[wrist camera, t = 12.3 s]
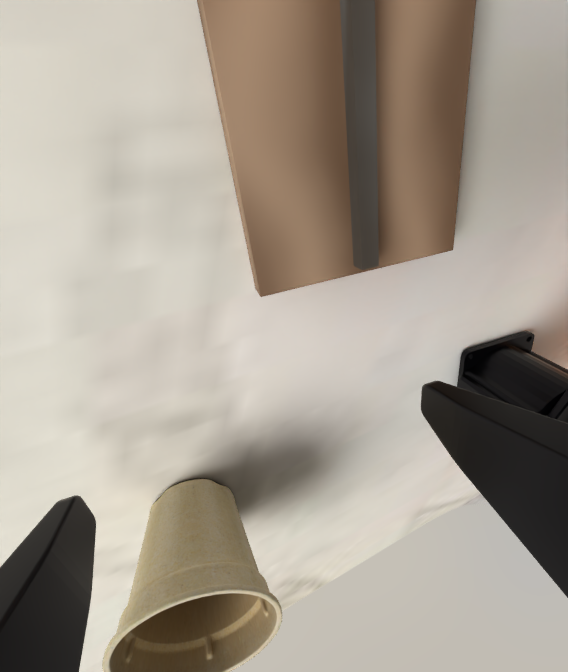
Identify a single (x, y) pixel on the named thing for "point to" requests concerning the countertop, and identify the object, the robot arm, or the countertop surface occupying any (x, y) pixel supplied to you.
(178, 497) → the flower pot
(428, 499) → the countertop surface
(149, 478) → the countertop surface
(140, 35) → the countertop surface
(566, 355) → the countertop surface
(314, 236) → the track
